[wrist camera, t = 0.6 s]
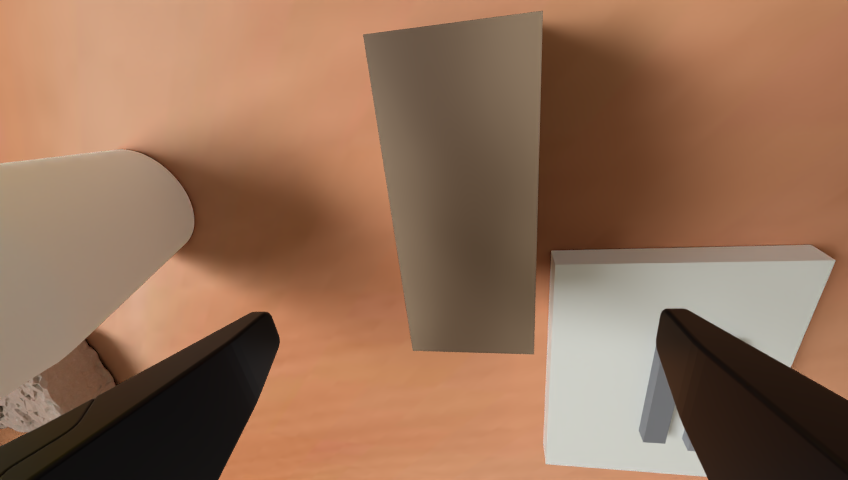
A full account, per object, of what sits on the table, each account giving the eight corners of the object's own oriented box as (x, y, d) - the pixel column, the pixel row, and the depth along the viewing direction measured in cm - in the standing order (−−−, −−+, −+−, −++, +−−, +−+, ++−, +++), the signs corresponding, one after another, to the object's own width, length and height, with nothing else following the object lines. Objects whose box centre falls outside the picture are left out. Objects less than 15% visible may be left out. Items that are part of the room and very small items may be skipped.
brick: (-4, 393, 37) (-66, 437, 33) (-67, 325, 33) (-145, 365, 29) (135, 392, 34) (86, 442, 29) (82, 316, 30) (17, 360, 26)
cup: (230, 180, 22) (-14, 308, 11) (198, 287, 26) (-1, 454, 16) (79, 95, 21) (-340, 150, 10) (71, 221, 25) (-232, 351, 15)
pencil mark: (684, 328, 20) (691, 339, 19) (659, 431, 23) (665, 443, 23) (659, 328, 20) (665, 339, 19) (638, 430, 24) (643, 442, 23)
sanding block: (523, 22, 16) (542, 10, 10) (521, 265, 22) (533, 354, 15) (409, 37, 17) (363, 34, 11) (434, 266, 23) (412, 350, 16)
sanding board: (811, 244, 18) (835, 260, 17) (730, 456, 25) (743, 479, 24) (551, 250, 21) (555, 264, 19) (543, 443, 28) (545, 464, 26)
